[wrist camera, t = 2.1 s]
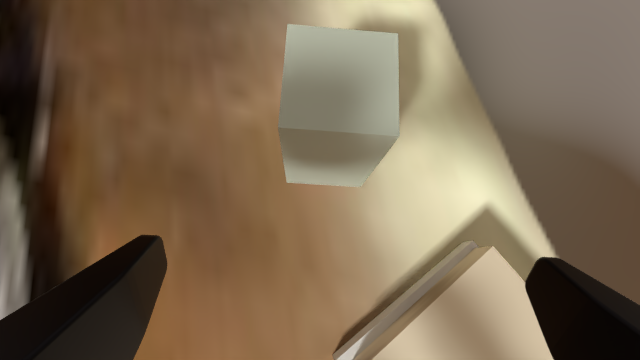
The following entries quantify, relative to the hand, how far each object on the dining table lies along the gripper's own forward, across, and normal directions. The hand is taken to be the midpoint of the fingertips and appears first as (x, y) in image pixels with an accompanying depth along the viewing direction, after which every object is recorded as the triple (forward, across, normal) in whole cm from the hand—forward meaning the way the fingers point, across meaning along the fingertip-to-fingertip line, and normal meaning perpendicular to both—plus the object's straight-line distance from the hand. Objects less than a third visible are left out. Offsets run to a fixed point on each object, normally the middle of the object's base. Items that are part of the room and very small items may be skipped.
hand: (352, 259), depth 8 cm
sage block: (+15, 0, +4) cm, 15 cm away
